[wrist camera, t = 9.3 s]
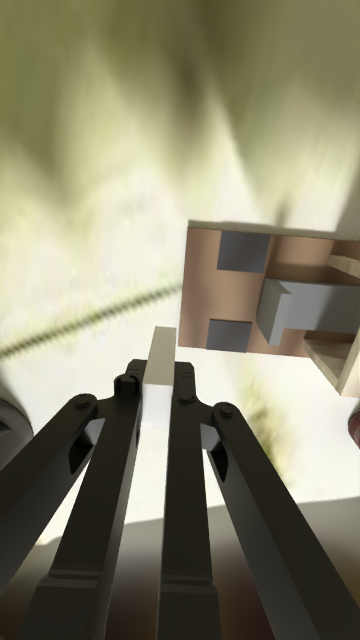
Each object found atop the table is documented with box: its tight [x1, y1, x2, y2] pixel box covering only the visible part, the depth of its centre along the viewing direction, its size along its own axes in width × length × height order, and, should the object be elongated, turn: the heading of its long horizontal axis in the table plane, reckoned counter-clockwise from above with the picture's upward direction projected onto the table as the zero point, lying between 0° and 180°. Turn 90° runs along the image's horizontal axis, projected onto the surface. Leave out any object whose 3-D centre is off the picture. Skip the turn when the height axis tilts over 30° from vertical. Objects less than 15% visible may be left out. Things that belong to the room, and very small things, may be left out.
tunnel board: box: [178, 227, 360, 398], centre depth 25 cm, size 30×14×10 cm, turn 86°
